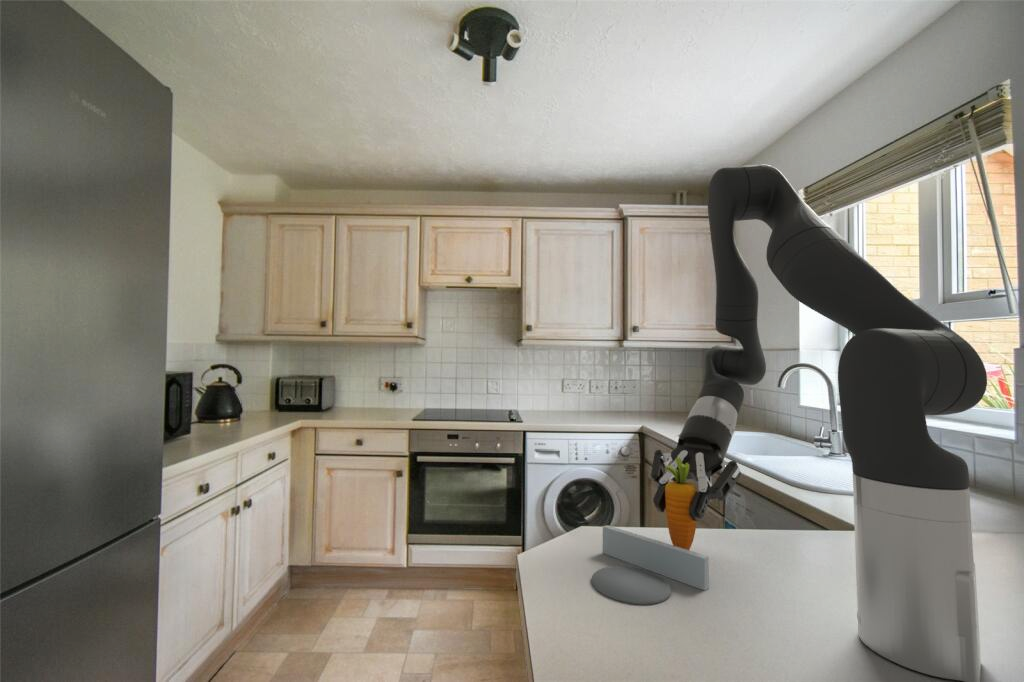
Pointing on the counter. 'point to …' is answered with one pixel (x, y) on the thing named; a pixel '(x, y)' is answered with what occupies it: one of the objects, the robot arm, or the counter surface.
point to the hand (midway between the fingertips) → (675, 512)
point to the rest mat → (631, 585)
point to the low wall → (657, 557)
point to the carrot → (680, 507)
